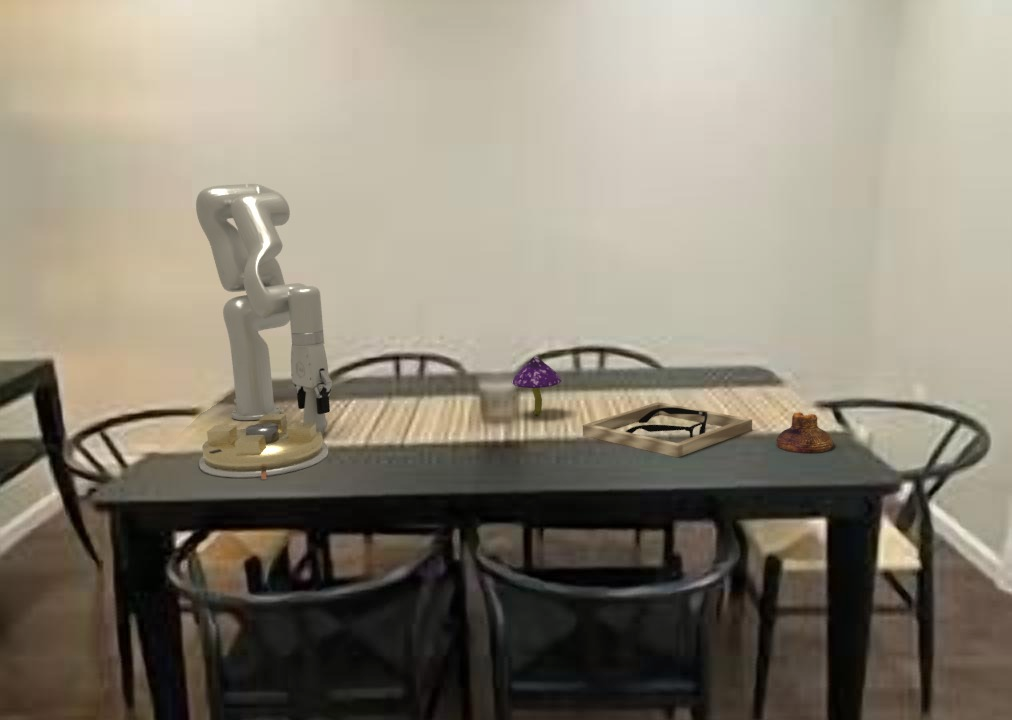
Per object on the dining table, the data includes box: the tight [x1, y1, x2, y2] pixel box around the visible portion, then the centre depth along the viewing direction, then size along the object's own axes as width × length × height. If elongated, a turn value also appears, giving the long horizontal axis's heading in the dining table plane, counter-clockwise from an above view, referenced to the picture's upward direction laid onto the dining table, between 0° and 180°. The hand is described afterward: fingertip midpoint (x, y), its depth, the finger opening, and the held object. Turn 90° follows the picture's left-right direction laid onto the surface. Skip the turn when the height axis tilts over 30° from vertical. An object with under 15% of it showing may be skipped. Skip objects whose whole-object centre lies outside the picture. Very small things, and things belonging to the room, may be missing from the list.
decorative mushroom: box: [512, 356, 563, 416], centre depth 249 cm, size 12×12×15 cm
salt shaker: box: [302, 383, 328, 435], centre depth 242 cm, size 6×6×13 cm
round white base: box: [198, 442, 329, 481], centre depth 225 cm, size 28×28×1 cm
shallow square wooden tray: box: [582, 401, 753, 458], centre depth 230 cm, size 27×27×2 cm
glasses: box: [624, 407, 707, 438], centre depth 230 cm, size 17×18×5 cm
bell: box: [776, 411, 834, 454], centre depth 215 cm, size 12×12×7 cm
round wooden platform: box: [202, 413, 324, 471], centre depth 224 cm, size 26×26×6 cm
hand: (314, 410), depth 243 cm, fingers open, 7 cm apart
